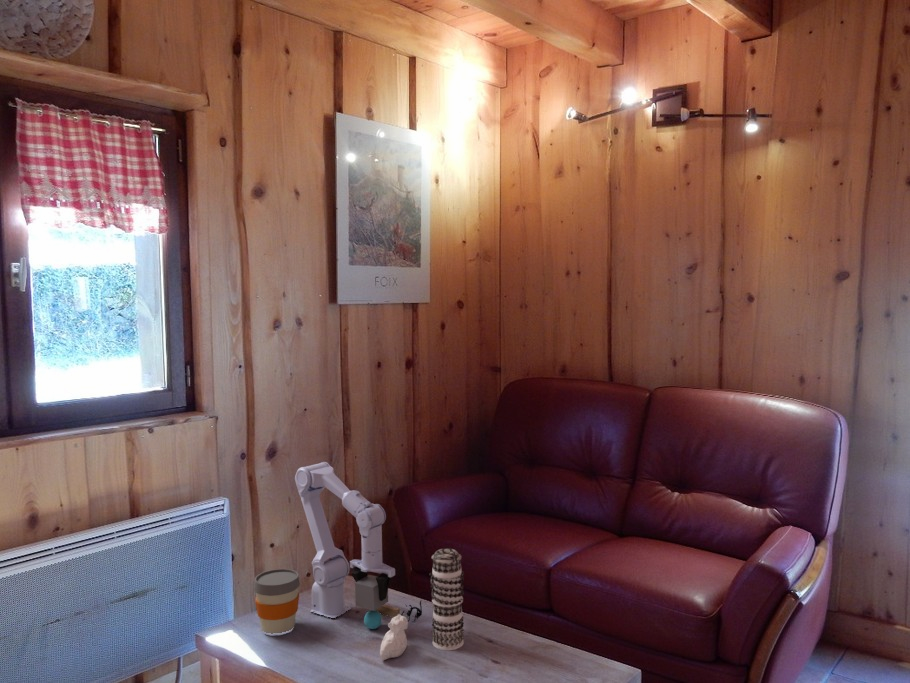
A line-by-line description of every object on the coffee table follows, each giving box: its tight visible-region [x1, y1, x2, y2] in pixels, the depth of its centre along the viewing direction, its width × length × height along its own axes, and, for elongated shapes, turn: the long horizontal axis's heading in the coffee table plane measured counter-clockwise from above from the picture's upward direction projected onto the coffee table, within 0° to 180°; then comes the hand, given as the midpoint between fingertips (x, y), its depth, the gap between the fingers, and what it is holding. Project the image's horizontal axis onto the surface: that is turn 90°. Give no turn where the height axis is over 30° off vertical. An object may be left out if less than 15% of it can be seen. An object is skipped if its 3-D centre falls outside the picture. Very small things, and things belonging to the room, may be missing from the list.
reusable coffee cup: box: [253, 568, 301, 634], centre depth 198 cm, size 13×13×15 cm
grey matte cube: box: [354, 574, 389, 611], centre depth 198 cm, size 6×6×7 cm
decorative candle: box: [429, 547, 465, 651], centre depth 188 cm, size 9×9×25 cm
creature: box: [400, 599, 423, 623], centre depth 203 cm, size 8×5×8 cm
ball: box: [363, 610, 383, 630], centre depth 198 cm, size 5×5×5 cm
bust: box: [379, 613, 409, 661], centre depth 183 cm, size 12×8×11 cm
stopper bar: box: [376, 604, 401, 618], centre depth 206 cm, size 8×1×2 cm, turn 59°
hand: (372, 596), depth 198 cm, fingers closed on grey matte cube, 6 cm apart
